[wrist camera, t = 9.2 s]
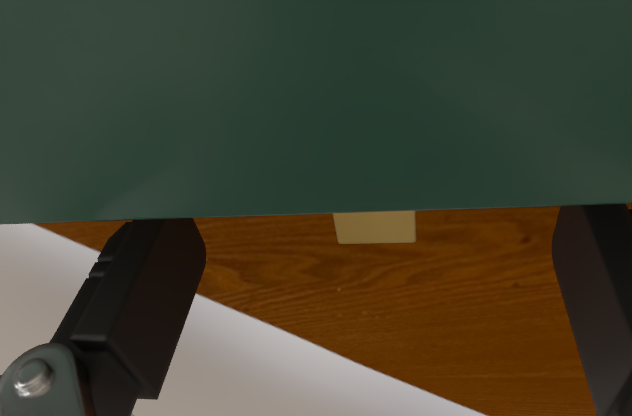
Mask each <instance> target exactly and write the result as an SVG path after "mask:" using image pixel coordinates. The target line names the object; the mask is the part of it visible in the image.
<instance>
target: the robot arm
mask: <svg viewBox="0 0 632 416" xmlns="http://www.w3.org/2000/svg"><path fill="white" fill-rule="evenodd" d="M552 258H553V264H554V268H555V272H556V275H557V279H558V282H559V286H560V289H561V293H562V296H563V299H564V303H565V306H566V310H567V313H568V316H569V320H570V323H571V327H572V330H573V334H574V337H575V340H576V344H577V347H578V351H579V354H580V358H581V361H582V364H583V368H584V371H585V375H586V378H587V381H588V385H589V388H590V392H591V395H592V399H593V402H594V405H595V409H596V412H597V416H632V209H629V210H628V208H627V206H626V204H606V205H575V206H561V208H560V211H559V215H558V219H557V223H556V227H555V231H554V235H553V240H552ZM205 264H206V248H205V244H204V241H203V239H202V237H201V235H200V233H199V231H198V228H197V226H196V224H195V222H194V220H193V218H176V219H146V220H133V222H126V223H125V224H124V225H123V226H122V227H121V228H120V229H119V230H118V231H117V232H116V233H115V234H113V235H112V236H111V237H110V238H109V239H108V241H107V243H106V245H105V246H104V248H103V250H102V252H101V253H100V255H99V257H98V262H96V263H95V264H94V266H93V267H92V269H91V271H90V273H89V278H86V280H85V282H84V283H83V285H82V287H81V289H80V290H79V292H78V294H77V296H76V297H75V299H74V301H73V303H72V305H71V306H70V308H69V310H68V312H67V313H66V315H65V317H64V319H63V320H62V322H61V324H60V325H59V327H58V329H57V331H56V332H55V334H54V336H53V338H52V339H51V341H50V342H49V343H46V344H42V345H39V346H36V347H34V348H32V349H30V350H28V351H27V352H25V353H23V354H22V355H21V356H19V357H18V358H17V359H16V360H15V361H13V362H12V364H11V365H10V366H9V367H8V368H7V369H6V371H5V372H4V373H3V375H0V416H134V415H133V414H132V410H133V408H134V405H135V403H136V400H137V399H156V400H157V399H158V396H159V393H160V391H161V388H162V385H163V382H164V379H165V377H166V374H167V371H168V368H169V366H170V363H171V360H172V357H173V354H174V352H175V349H176V346H177V343H178V341H179V338H180V335H181V332H182V329H183V327H184V324H185V321H186V318H187V315H188V313H189V310H190V307H191V304H192V301H193V299H194V296H195V293H196V290H197V288H198V285H199V282H200V279H201V277H202V274H203V271H204V268H205Z"/></svg>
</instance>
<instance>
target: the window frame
mask: <svg viewBox="0 0 632 416" xmlns="http://www.w3.org/2000/svg"><path fill="white" fill-rule="evenodd" d="M606 204H632V0H0V224H23V223H54V222H84V221H115V220H146V219H176V218H207V217H238V216H268V215H299V214H330V213H360V212H391V211H422V210H452V209H483V208H514V207H544V206H575V205H606Z"/></svg>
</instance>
